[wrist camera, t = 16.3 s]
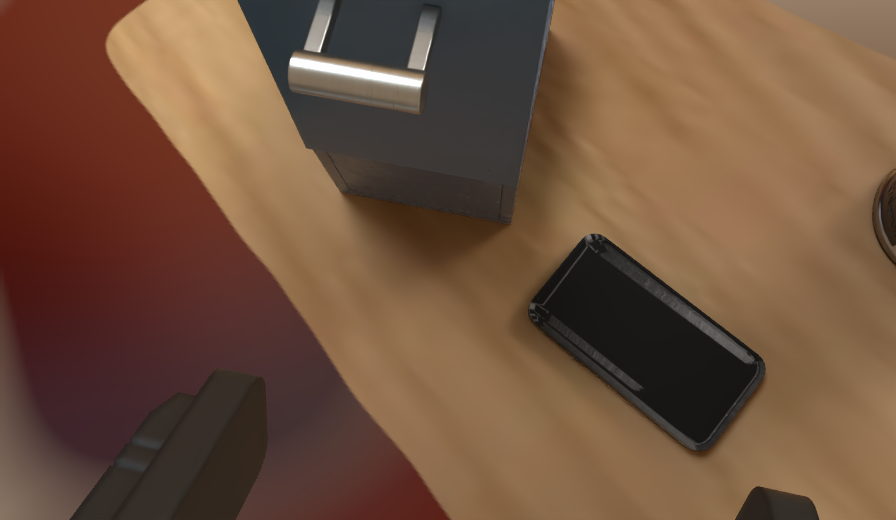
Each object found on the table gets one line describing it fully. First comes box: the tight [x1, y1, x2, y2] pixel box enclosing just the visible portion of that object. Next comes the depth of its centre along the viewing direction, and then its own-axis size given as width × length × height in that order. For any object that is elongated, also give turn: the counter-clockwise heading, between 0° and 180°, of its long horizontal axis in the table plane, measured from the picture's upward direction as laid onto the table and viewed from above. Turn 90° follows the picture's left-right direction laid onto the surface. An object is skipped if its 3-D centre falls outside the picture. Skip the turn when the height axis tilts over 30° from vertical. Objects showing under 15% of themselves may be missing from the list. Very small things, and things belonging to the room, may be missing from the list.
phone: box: [528, 234, 766, 451], centre depth 47 cm, size 8×1×15 cm
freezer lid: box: [238, 0, 551, 187], centre depth 32 cm, size 17×13×5 cm
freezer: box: [313, 0, 555, 224], centre depth 47 cm, size 16×13×9 cm
